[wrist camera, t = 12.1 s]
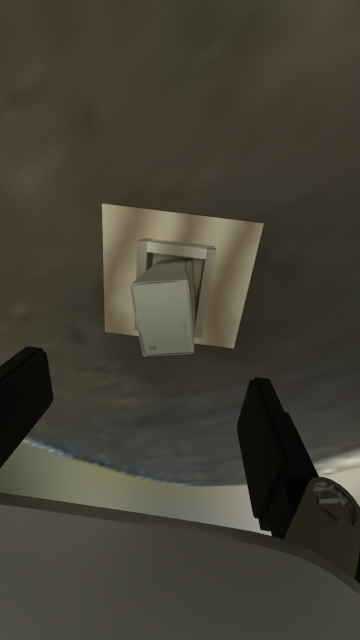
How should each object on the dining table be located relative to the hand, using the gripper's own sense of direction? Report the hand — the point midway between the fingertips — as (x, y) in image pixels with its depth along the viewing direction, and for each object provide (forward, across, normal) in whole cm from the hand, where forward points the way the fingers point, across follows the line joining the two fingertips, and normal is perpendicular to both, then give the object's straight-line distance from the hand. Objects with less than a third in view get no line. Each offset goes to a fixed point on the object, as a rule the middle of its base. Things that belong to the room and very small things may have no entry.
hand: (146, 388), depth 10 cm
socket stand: (+21, 0, 0) cm, 21 cm away
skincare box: (+20, 0, 0) cm, 20 cm away
